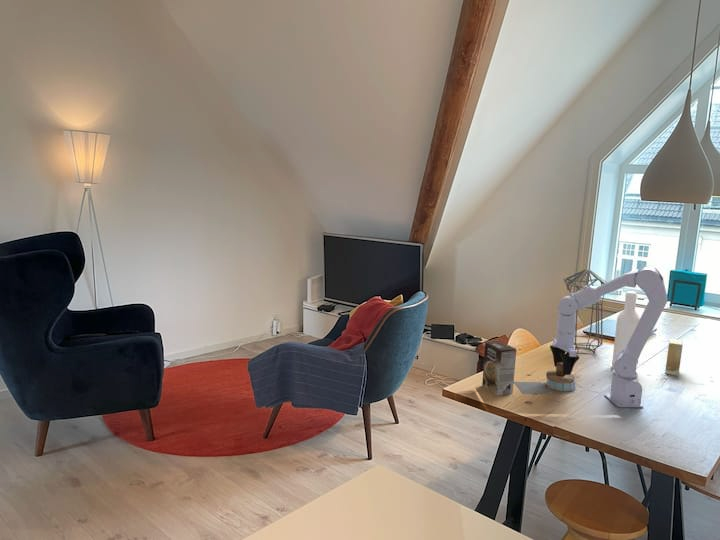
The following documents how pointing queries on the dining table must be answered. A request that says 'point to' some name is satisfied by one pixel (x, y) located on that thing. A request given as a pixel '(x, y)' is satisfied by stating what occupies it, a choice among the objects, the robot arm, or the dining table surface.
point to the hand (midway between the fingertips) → (562, 370)
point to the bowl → (561, 385)
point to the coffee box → (499, 367)
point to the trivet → (533, 387)
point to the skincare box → (674, 357)
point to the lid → (559, 375)
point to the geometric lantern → (582, 274)
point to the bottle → (625, 324)
